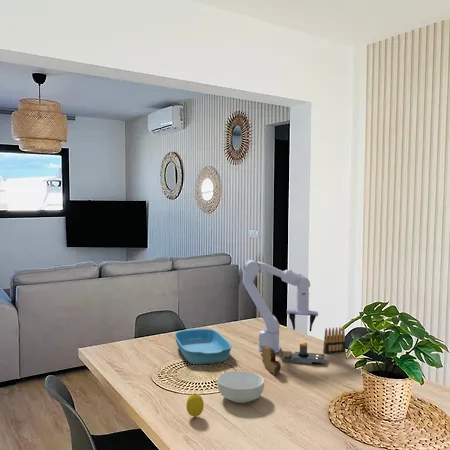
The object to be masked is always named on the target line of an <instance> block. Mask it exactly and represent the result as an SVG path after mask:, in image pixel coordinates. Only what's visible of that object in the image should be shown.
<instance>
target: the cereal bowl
mask: <svg viewBox="0 0 450 450" xmlns="http://www.w3.org/2000/svg"><path fill="white" fill-rule="evenodd" d="M216 383H217V389H218V392H219V394H221V396H222V397H223V398H225V399H227V400H230V401H231V402H233V403H236V404H246V403H249V402H251V401H255V400H257V399H258V398H260V397H261V395H262V393H263V392H264V388H265V379H264V377H263V376H261V375H260V374H257V373H255V372H251V371H245V370H233V371H232V370H231V371H226V372H223V373H221V374H220V375H219V376H218V377H217V381H216Z"/></svg>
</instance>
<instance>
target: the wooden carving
mask: <svg viewBox="0 0 450 450" xmlns="http://www.w3.org/2000/svg"><path fill="white" fill-rule="evenodd" d="M261 352H262V353H260V357H262V360H261V361H262V364H263V366H264V367H265V369H266V370H267V371H268V372H269V373H272V374H273V375H274V376H276V375H278V374H280V373H281V372H280V371H281V370H282V367H281V363H280V361H279V360H276V359H277V358H276V356H277V355H276V354H277V352H275V351H274V350H273V349H272V348H271V347H269V346H262V351H261Z"/></svg>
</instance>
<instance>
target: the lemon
mask: <svg viewBox="0 0 450 450" xmlns="http://www.w3.org/2000/svg"><path fill="white" fill-rule="evenodd" d="M203 410H204V400H203V397H202V396H201V395H200V394H198V393H196V392H194V393H193V394H191V395H189V396H188V398H187V401H186V411H187V414H188V415H190V416H191V417H193V418H194V419H195V418H197V417H199V416H201V414H202V413H203Z"/></svg>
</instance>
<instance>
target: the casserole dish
mask: <svg viewBox="0 0 450 450" xmlns="http://www.w3.org/2000/svg"><path fill="white" fill-rule="evenodd" d="M174 338H175V343H176V345H177V347H178V349H179V351H180V352H181V354H182V356H183V357H184V358H185V359H186V361H188V362H189V363H191V364H192V363H194V364H193V365H204V364H203V363H209V364H213V363H212V362H218V363H221V362H222V361H223V362H224V361H226V360H227V359H228V357H229V355H230V353H231V350H232V348H233V346H232V344H231V343H230V342H229V340H228V339H227V338H226V337H225V336H223V335H222V334H221V333H220V332H219V331H217V330H215V329H210V328H196V327H195V328H194V327H193V328H187V329H184V330H183V329H182V330H179V331H176V332H175V333H174Z"/></svg>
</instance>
